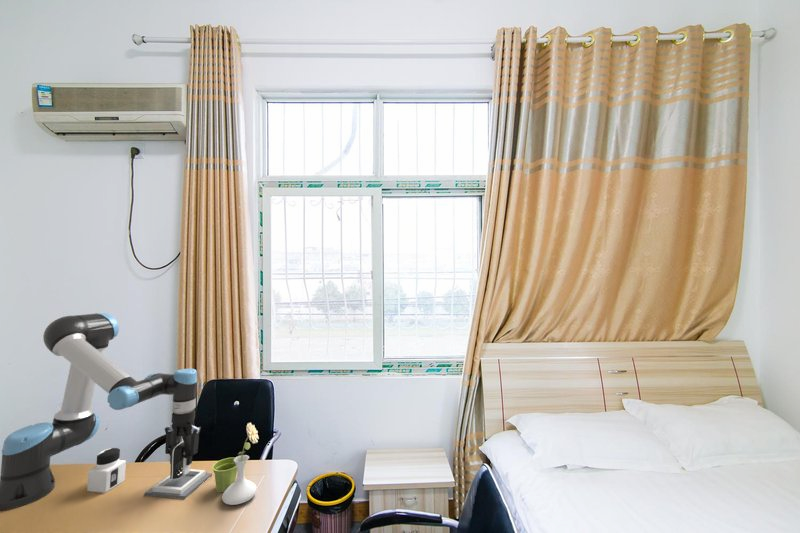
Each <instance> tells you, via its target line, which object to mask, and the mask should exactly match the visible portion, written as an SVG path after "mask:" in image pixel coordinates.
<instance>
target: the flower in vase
mask: <svg viewBox="0 0 800 533" xmlns="http://www.w3.org/2000/svg"><path fill="white" fill-rule="evenodd" d="M246 433H247V434H246V435H247V437H246V439H245V441H244V444H243V447H242V451H239V452H238V456H236V457H234V458H235V459H234V462H235V463H236V465H237V474H236V480H235V482H234V483H233V484H231V485H230V486H229V487H228V488H227V489H226V490H225V491H224V492H222V493H223V494H222V496H221V500H222V501H223V503H224V504H226V505H230V506H234V505H240V504H243V503H246V502H248V501H249V500H251V499H253V498H254V497H255V495H256V493H257V491H258V487H257V485H256V483H255V482H253V481H251V480H249V479H247V478H246V477H245V469H246V468H245V467H246V464H247V462H248V461H249V459H250V456H249V455H247V454H245V450H247V451H248V450H249V449H250V448H251V443H252V444H253V445H254V444H258V442H259V441H258V440H259V439H260V438H259V435H258V433H259V431H258V430H257V428H256V427H255V424H252V422H248V423H247V425H246ZM248 439H249V441H250V442H251V443H250V442H247V441H248Z"/></svg>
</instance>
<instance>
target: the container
mask: <svg viewBox="0 0 800 533" xmlns="http://www.w3.org/2000/svg"><path fill="white" fill-rule="evenodd" d="M120 455H121V449H120V448H119V447H118V448H117V447H110V448H107V449H106V448H105V449H104V450H102V451H100V452H98V454H97V455H96V464H95V466H93V467H91V468H90V469H88V473H87V485H86V491H87V492H91V493H103V494H104V493H105V494H106V493H107V492H109V491H111V490H112V489H113V488H115V487H116V486H117V487H118V486H119V485H120V484H121V483H123V482H124V481H125V480H126V468H127V467H126V465H127V461H126V460H125V459H124V460H121V459H120Z"/></svg>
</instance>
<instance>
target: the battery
mask: <svg viewBox="0 0 800 533" xmlns="http://www.w3.org/2000/svg"><path fill="white" fill-rule="evenodd" d="M185 456H186V454H185V447H184V440H182V441H180V443H179V444H177V445H176V446H174V447H173V449H172V451H171V464H170V474H169V475H170V479H177V478H179V477H181V476H182V475H183V460H184V457H185Z"/></svg>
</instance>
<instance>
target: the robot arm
mask: <svg viewBox="0 0 800 533" xmlns="http://www.w3.org/2000/svg"><path fill="white" fill-rule="evenodd" d="M119 332H120V325H119V322H118V320H117V319H116V318H115V317H114V315H111V314H109V313H99V312H98V313H96V312H95V313H89V314H78V315H67V316H65V315H64V316H62V317H59V318H57V319H55V320H53V321H52V322H50V323H49V324H48V325H47V327H46V328H45V330H44V332H43V335H42V336H43V342H44V346H45V347H46V348H47V350H49V352H51V353H52V354H53V355H55V356H57V357H63V358H64V359H65V360H66V361H67V362H69V363H70V366H69V369H68V375H67V380H66V384H65V388H64V394H63V398H62V403H61V407H60V410H59V411H57V412H56V413H54V415H53V420H52V422H38V423H35V424H33V425H32V424H30V425H27V426H24V427H22V428H19V429H17V430H15V431H13V432H11V433H10V434H9V435H8V436H7V437H5V439H4V441H3V445H2V449H1V453H2V455H1V467H0V511H5V510H11V509H15V508H19V507H22V506H25V505H28V504H30V503H34V502H36V501H38V500H39V499H42V498H44V497H45V496H47V495H49V494H50V493H51V492H52V491H53V490H54V489H55V485H56V479H55V477H54V474H53V473H52V470H51V467H50V465H51V457H54V456H55V455H57V454H60V453H62V452H64V451H67V450H69V449H71V448H73V447H77V446H80V445H81V444H83V443H85V442H87V441H88V440H90V439H92V437H94V435H96V433H97V432H98V431H99V430H98V429H99V428H100V418H99V415H98V414H97V413H96V412H95V409H94V408H93V407H91V406H92V402H93V401H92V400H93V396H94V392H95V386H96V385H97V386H99V387H100V388H101V389H102V390H103V391H105V393H107V394H108V395H107V398H106V399H107V403H108V406H109V407H110V408H111V409H112V410H116V411H120V410H121V411H122V410H123V409H127V408H131V407H133V406H135V405H138V404H140V403H143V402H145V401H148V400H151V399H153V398H156V397H158V396H160V395H161V396H163V395H170V396H171V395H172V413H171V423H172V424H170V425H168V426H166V427H165V428H164V432H165V447H164V448H165V450H164V451H165V452H164V453H165V454H166V455H169V457H170V458H169V464H170V465H171V451H172V449H173V447H174V446H176V445H177V444H179V443H180V442H181V439H182V441H184V447H185V454H186V456H185V457H184V460H183V475H186V474H187V473H188V472H190V469H191V465H192V464H193V456H194V455H195V454H197V453H198V452H199V443H200V442H199V441H200V432H201V429H202V427H201V426H198V427H197V426H195V418H196V406H197V405H196V404H197V401H196V400H197V394H196V393H197V386H198V384H197V383H198V371H197V369H195V368H183V369H178V370H176V371H175V372H174V373H173V374H172V373H162V372H158V373H149V374H148V375H147V376H146V377H144V379H141V380H138V381H137V380H135V379H134V378H133V377H132V376H131V375H129V374H128V373H127V372H126V371H124V370H123V369H122V368H121V367H119V366H118V365H117V364H116V363H114V362H113V361H112V360H111V359H109V358H108V357H107V356H105V355H104V354H103V351H104V350H106V349H107V348H108V347H109V344H110V341H112V340H114V339H116V337H117V336H118V335H119Z"/></svg>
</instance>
